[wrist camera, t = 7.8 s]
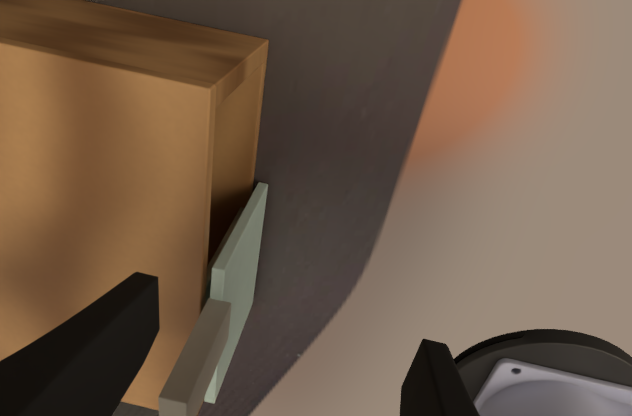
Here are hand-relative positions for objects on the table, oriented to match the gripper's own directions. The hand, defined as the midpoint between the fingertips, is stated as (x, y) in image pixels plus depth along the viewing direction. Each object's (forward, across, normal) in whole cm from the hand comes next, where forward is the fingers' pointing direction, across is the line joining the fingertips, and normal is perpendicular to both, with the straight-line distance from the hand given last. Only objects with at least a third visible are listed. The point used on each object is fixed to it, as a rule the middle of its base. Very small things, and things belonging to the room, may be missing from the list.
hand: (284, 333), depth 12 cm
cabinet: (+10, +8, +3) cm, 14 cm away
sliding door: (+10, +3, +5) cm, 12 cm away
